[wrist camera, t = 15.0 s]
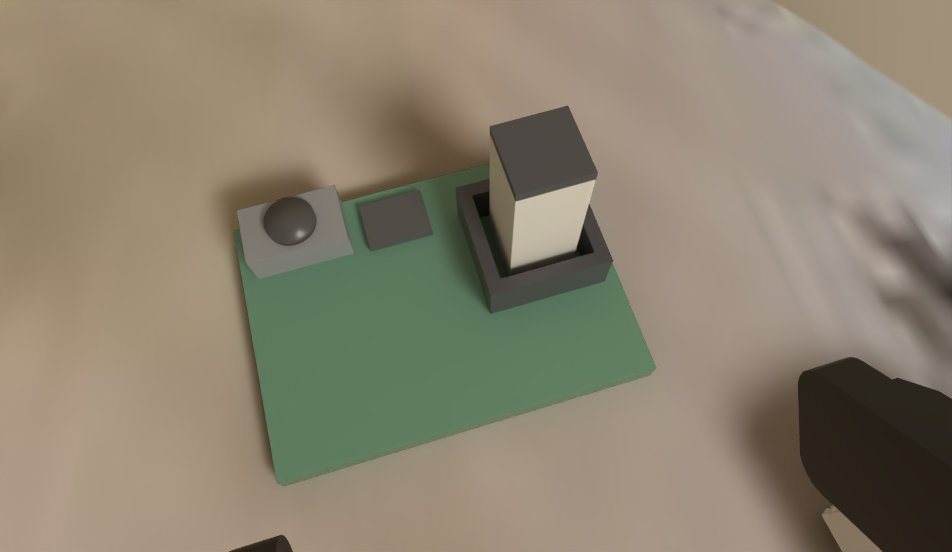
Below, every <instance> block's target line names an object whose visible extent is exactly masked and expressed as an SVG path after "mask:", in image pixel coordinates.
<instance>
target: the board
mask: <svg viewBox="0 0 952 552" xmlns="http://www.w3.org/2000/svg"><path fill="white" fill-rule="evenodd" d="M489 208H490V163H488V164H484V165H481V166H477V167H473V168H469V169H465V170H462V171H458V172H454V173H450V174H446V175H443V176H439V177H435V178H431V179H427V180H424V181H420V182H416V183H412V184H408V185H405V186H401V187H397V188H393V189H389V190H386V191H382V192H378V193H374V194H370V195H367V196H363V197H359V198H355V199H351V200H348V201H344V202H341V199H340V197H339V195H338V192H337V190H336V187H335V185H333V186H329V187H325V188H322V189H318V190H314V191H310V192H306V193H302V194H299V195H295V196H291V197H286V198H282V199H279V200H276V201H272V202H268V203H264V204H260V205H256V206H252V207H249V208H245V209H241V210H237V216H238V221H239V227H240V229H237V230H234V235H235V241H236V247H237V253H238V259H239V265H240V271H241V276H242V282H243V288H244V294H245V300H246V306H247V312H248V317H249V323H250V329H251V335H252V341H253V347H254V353H255V359H256V364H257V370H258V376H259V382H260V388H261V394H262V400H263V406H264V411H265V417H266V423H267V429H268V435H269V441H270V447H271V452H272V458H273V464H274V470H275V476H276V482H277V483H278V484H281V485H283V486H286V485H289V484H293V483H296V482H299V481H302V480H306V479H309V478H312V477H316V476H319V475H322V474H326V473H329V472H332V471H335V470H339V469H342V468H345V467H349V466H352V465H355V464H358V463H362V462H365V461H368V460H372V459H375V458H378V457H382V456H385V455H388V454H391V453H395V452H398V451H401V450H405V449H408V448H411V447H414V446H418V445H421V444H424V443H428V442H431V441H434V440H438V439H441V438H444V437H447V436H451V435H454V434H457V433H461V432H464V431H467V430H470V429H474V428H477V427H480V426H484V425H487V424H490V423H494V422H497V421H500V420H503V419H507V418H510V417H513V416H517V415H520V414H523V413H526V412H530V411H533V410H536V409H540V408H543V407H546V406H549V405H553V404H556V403H559V402H563V401H566V400H569V399H573V398H576V397H579V396H582V395H586V394H589V393H592V392H596V391H599V390H602V389H605V388H609V387H612V386H615V385H619V384H622V383H625V382H629V381H632V380H635V379H638V378H642V377H645V376H648V375H651V374H652V372H653V371H654V370H655V369H656V366H655V364H654V361H653V359H652V357H651V354H650V352H649V349H648V347H647V345H646V342H645V340H644V337H643V335H642V333H641V330H640V328H639V325H638V323H637V321H636V318H635V316H634V313H633V311H632V309H631V306H630V304H629V302H628V299H627V297H626V294H625V292H624V290H623V287H622V285H621V282H620V280H619V278H618V275H617V273H616V270H615V268H614V266H613V263H612V262H613V259H612V257H611V255H610V252H609V250H608V247H607V245H606V243H605V240H604V238H603V236H602V233H601V231H600V228H599V226H598V224H597V221H596V219H595V216H594V214H593V212H592V209H591V207H590V205H588V209H587V212H586V216H585V220H584V223H583V227H582V230H581V234H580V237H579V241H578V244H577V248H576V251H575V255H574V258H573V259H569V260H566V261H562V262H559V263H555V264H551V265H548V266H544V267H541V268H537V269H534V270H530V271H527V272H523V273H519V274H516V275H512V276H509V277H507V276H506V273H505V271H504V268H503V265H502V262H501V259H500V256H499V254H498V251H497V248H496V245H495V242H494V239H493V237H492V234H491V231H490V228H489Z"/></svg>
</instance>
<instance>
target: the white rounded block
mask: <svg viewBox="0 0 952 552" xmlns="http://www.w3.org/2000/svg"><path fill="white" fill-rule="evenodd" d="M830 508H831V509H830ZM830 508H826V509H824V513H823V514H822V517H823V519H824V521H825V522H826V524H827V526H828V528H829V529H830V531H831V533H832V535H833V536H834V538H835V540H836V542H837V543H838V545H839V547H840V549H841V551H842V552H882V551H881V550H880V549H879V548H878V547H877V546H876V545H875V544H874V543H873V542H872V541H871V540H870V539H869V538H868V537H867V536H865V535H864V534H863V533H862V532H861V531H860V530H859V529H858V528H857V527H856V526H855V525H854V524H853V523H852V522H851V521H850V520H849V519H848V518H846V517H845V516H844V515H843V514H842V513H841V512H840V511H839V510H838V509H837V508H836V507H835V506H834V505H833V506H830Z"/></svg>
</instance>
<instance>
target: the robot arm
mask: <svg viewBox="0 0 952 552" xmlns="http://www.w3.org/2000/svg"><path fill="white" fill-rule="evenodd" d="M798 400H799V435H800V455H801V459H802V463H803V466H804V468H805V471H806V473H807V475H808V477H809V478H810V480H811V482H812V483H813V484H814V486H815V487H816V488H817V490H818V491H819V492H820V493H821V494H822V495H823V496H824V497H825V498H826V499H827V500H829V501H830V502H831V503H832V504H833V505H834V506H835V507H836V508H837V509H838V510H839V511H840V512H841V513H842V514H843V515H844V516H845V517H846V518H848V519H849V520H850V521H851V522H852V523H853V524H854V525H855V526H856V527H857V528H858V529H859V530H860V531H861V532H862V533H863V534H864V535H865V536H867V537H868V538H869V539H870V540H871V541H872V542H873V543H874V544H875V545H876V546H877V547H878V548H879V549H880V550H881V551H882V552H952V399H951V398H949V397H948V396H946V395H944V394H943V393H941V392H939V391H936V390H933V389H930V388H927V387H924V386H921V385H918V384H915V383H912V382H909V381H906V380H902V379H899V378H896V379H893V380H892V379H890V378H889V377H887V376H885V375H884V374H882V373H881V372H879V371H877V370H876V369H874V368H873V367H871V366H869V365H868V364H866V363H865V362H863V361H861V360H859V359H857V358H853V357H849V358H845V359H842V360H838V361H835V362H832V363H829V364H826V365H823V366H819V367H816V368H813V369H810V370H807V371H804V372H803V373H802V374H801V375H800V377H799V381H798ZM229 552H293V551H292V548H291V546H290V544H289V542H288V540H287V539H286V537H285V536H283V535H279V536H276V537H273V538H270V539H266V540H263V541H260V542H257V543H254V544H251V545H247V546H244V547H241V548H238V549H235V550H232V551H229Z"/></svg>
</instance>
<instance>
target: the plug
mask: <svg viewBox="0 0 952 552" xmlns="http://www.w3.org/2000/svg"><path fill="white" fill-rule="evenodd" d="M597 174H598V172H597V170H596V167H595V165H594V163H593V161H592V158H591V156H590V154H589V152H588V149H587V147H586V145H585V143H584V140H583V138H582V136H581V134H580V131H579V129H578V127H577V125H576V122H575V120H574V118H573V116H572V113H571V111H570V109H569V107H568V106H565V107H561V108H557V109H553V110H550V111H546V112H542V113H538V114H535V115H531V116H527V117H523V118H519V119H516V120H512V121H508V122H504V123H501V124H497V125H493V126H490V208H489V228H490V231H491V234H492V237H493V239H494V242H495V245H496V248H497V251H498V254H499V256H500V259H501V262H502V265H503V268H504V271H505V273H506V276H507V277H509V276H512V275H516V274H519V273H523V272H527V271H530V270H534V269H537V268H541V267H544V266H548V265H551V264H555V263H559V262H562V261H566V260H569V259H573V258H574V255H575V251H576V248H577V244H578V241H579V237H580V234H581V230H582V227H583V223H584V220H585V216H586V212H587V209H588V205H589V202H590V198H591V195H592V191H593V188H594V184H595V181H596V177H597Z"/></svg>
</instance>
